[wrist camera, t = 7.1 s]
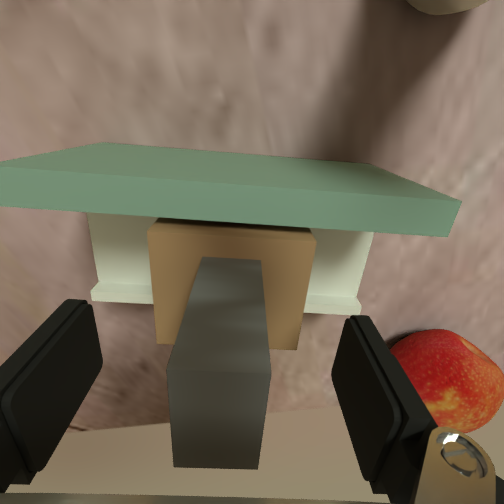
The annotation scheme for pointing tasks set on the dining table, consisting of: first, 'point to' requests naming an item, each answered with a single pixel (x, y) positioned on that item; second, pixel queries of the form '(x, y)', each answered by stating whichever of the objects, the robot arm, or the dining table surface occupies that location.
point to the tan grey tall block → (225, 328)
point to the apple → (451, 378)
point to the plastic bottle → (444, 6)
